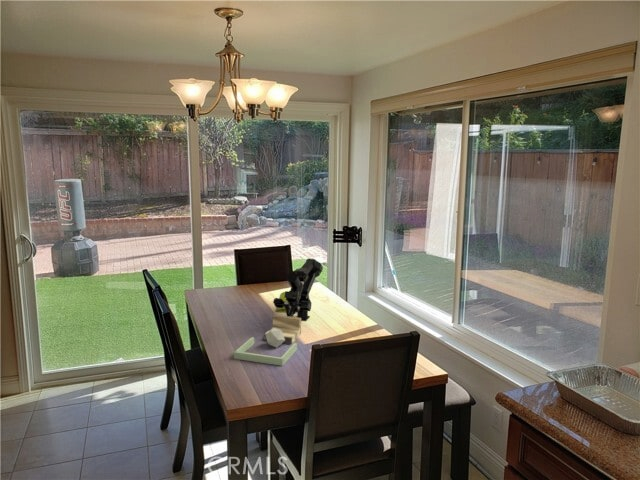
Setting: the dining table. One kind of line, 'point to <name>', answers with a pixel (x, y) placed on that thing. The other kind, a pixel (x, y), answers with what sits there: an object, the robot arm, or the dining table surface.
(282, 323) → the block
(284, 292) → the dish towel
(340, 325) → the dining table surface
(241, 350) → the fence
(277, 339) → the die
